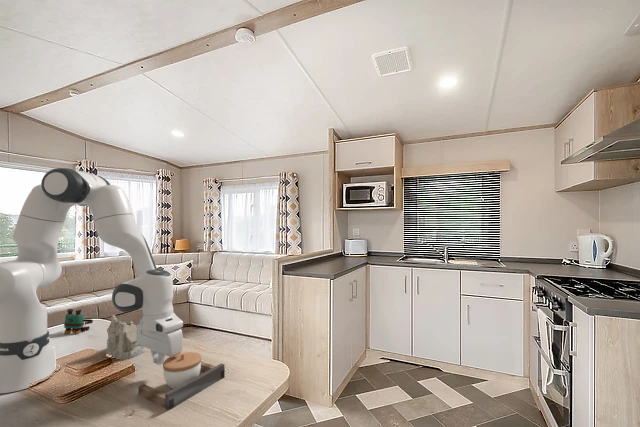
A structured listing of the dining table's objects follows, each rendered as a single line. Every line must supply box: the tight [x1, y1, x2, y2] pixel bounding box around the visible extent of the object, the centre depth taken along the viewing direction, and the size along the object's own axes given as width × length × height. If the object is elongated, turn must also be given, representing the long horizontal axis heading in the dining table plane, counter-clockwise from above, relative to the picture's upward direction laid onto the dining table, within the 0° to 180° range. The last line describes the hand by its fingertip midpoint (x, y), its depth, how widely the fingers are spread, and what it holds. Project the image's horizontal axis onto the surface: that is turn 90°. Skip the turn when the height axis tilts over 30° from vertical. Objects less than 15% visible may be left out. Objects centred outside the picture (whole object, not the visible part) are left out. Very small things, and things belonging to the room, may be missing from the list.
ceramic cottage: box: [105, 314, 147, 361], centre depth 119 cm, size 16×16×15 cm
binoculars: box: [63, 308, 94, 335], centre depth 141 cm, size 9×11×10 cm
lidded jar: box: [162, 351, 202, 390], centre depth 93 cm, size 11×11×9 cm
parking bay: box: [137, 360, 226, 411], centre depth 92 cm, size 14×19×4 cm
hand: (158, 363), depth 98 cm, fingers closed
